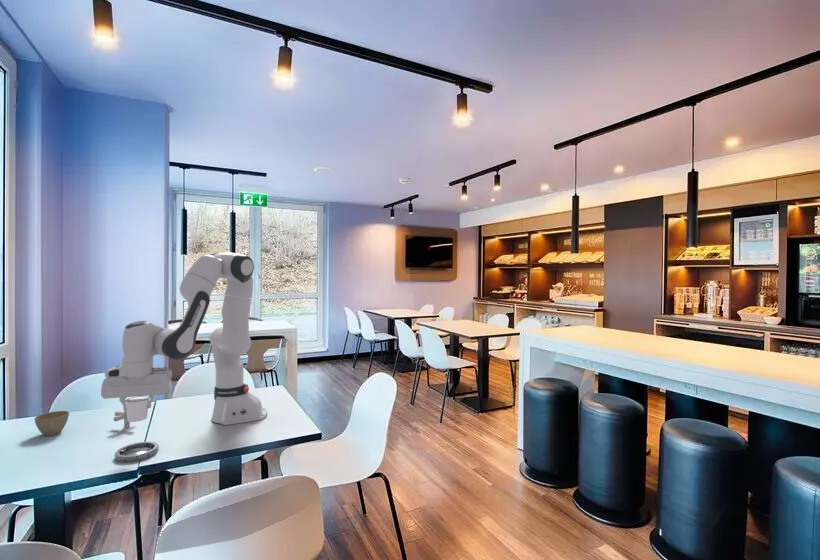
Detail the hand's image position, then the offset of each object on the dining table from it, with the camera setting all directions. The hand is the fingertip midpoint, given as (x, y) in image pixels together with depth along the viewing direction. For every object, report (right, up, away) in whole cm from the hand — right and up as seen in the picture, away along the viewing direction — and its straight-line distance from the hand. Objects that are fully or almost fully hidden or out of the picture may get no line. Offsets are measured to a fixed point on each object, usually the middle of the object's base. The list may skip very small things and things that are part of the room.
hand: (137, 408), depth 136 cm
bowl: (0, -16, 0) cm, 16 cm away
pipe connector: (-21, -16, +24) cm, 35 cm away
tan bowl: (-45, -15, +17) cm, 50 cm away
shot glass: (0, -4, 0) cm, 4 cm away
